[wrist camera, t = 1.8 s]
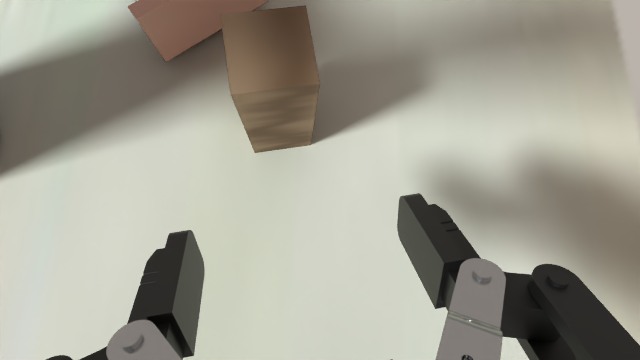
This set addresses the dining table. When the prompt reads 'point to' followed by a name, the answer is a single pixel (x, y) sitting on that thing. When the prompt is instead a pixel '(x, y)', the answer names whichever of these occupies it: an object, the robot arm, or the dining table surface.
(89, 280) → the dining table surface
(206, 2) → the dock tray
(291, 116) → the walnut block
